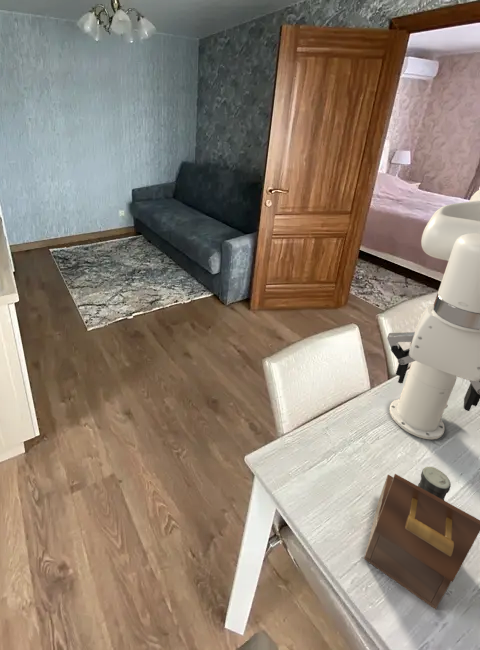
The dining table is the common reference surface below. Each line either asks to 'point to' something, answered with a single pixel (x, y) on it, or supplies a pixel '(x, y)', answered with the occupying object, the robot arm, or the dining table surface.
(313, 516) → the dining table surface
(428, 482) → the sauce bottle
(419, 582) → the storage box
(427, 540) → the box lid
